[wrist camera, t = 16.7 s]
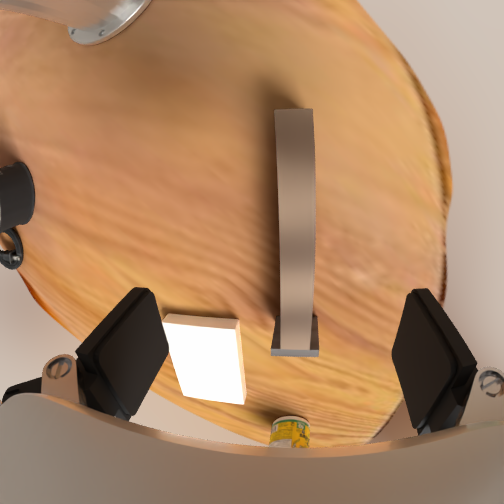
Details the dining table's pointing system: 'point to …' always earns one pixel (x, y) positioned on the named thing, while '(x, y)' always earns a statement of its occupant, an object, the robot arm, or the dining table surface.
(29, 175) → the milk frother
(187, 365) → the tile
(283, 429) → the supplement bottle
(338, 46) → the dining table surface
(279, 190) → the bar
